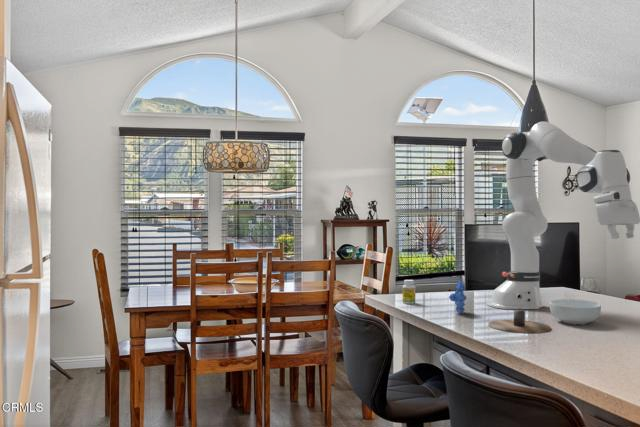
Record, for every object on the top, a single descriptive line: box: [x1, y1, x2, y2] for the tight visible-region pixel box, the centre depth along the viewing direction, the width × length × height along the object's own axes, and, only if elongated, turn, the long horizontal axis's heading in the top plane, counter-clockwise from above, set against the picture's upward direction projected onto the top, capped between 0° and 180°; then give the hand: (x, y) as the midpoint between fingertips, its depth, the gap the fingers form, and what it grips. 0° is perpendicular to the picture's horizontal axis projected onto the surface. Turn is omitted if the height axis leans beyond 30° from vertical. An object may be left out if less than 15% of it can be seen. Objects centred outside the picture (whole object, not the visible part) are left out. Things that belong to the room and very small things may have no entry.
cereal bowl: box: [548, 298, 602, 326], centre depth 212 cm, size 17×17×7 cm
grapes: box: [448, 281, 467, 315], centre depth 230 cm, size 12×7×12 cm, turn 169°
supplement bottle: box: [402, 279, 416, 305], centre depth 253 cm, size 5×5×10 cm
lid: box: [488, 309, 552, 334], centre depth 203 cm, size 20×20×6 cm
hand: (623, 238), depth 196 cm, fingers open, 8 cm apart
